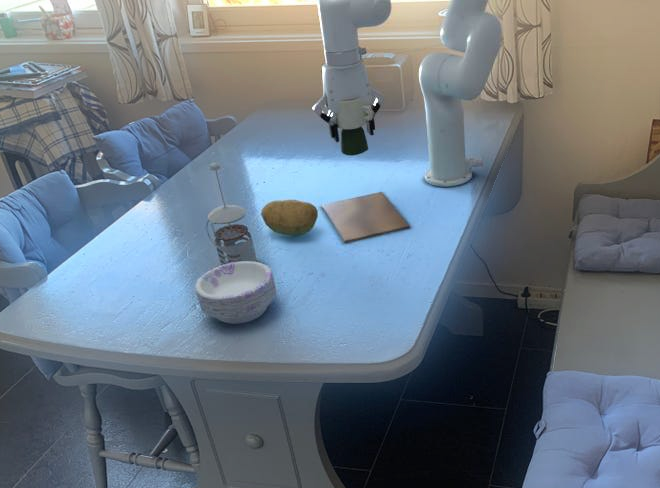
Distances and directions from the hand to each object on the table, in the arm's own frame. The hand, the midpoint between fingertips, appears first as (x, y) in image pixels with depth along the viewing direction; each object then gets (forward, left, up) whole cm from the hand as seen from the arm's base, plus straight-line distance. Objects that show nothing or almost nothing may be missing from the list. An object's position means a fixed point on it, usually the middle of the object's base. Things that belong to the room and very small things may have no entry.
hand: (353, 136), depth 174 cm
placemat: (0, 0, -20) cm, 20 cm away
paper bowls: (+35, +30, -20) cm, 50 cm away
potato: (+18, 0, -20) cm, 27 cm away
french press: (+33, +12, -20) cm, 41 cm away
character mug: (0, 0, -4) cm, 4 cm away
